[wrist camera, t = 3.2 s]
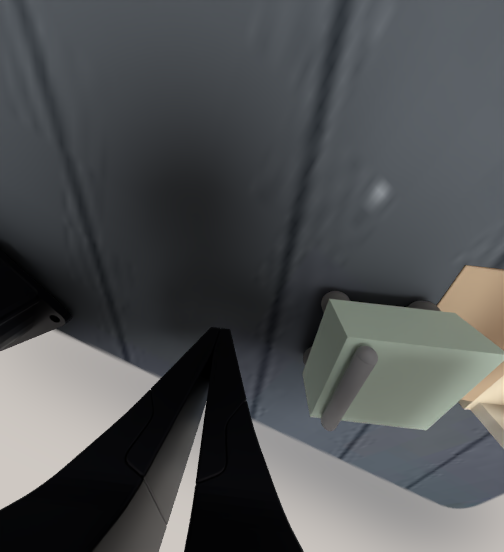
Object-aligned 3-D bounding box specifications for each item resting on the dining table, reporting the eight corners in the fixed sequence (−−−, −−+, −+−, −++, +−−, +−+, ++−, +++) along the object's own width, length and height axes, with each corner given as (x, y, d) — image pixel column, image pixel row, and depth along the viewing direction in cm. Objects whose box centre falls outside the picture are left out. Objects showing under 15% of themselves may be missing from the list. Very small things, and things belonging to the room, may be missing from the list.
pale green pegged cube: (299, 355, 11) (312, 433, 8) (322, 284, 9) (355, 353, 6) (387, 365, 11) (436, 447, 8) (434, 296, 9) (532, 373, 6)
